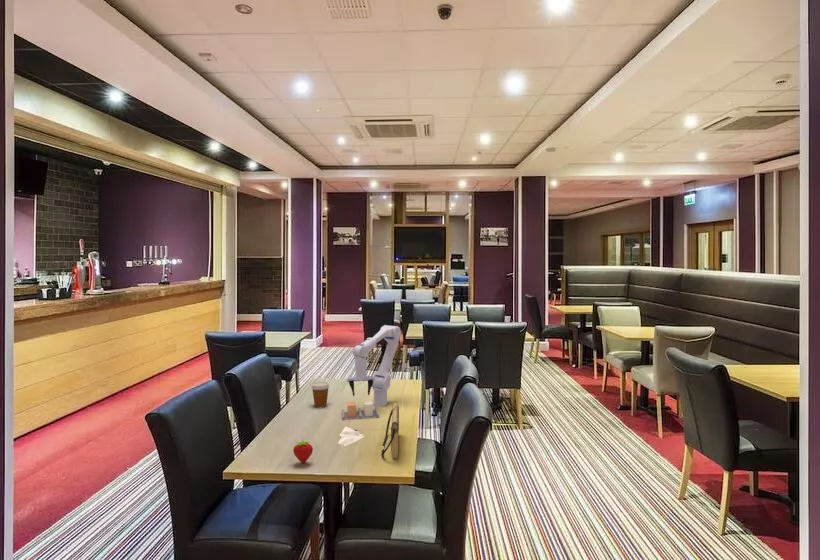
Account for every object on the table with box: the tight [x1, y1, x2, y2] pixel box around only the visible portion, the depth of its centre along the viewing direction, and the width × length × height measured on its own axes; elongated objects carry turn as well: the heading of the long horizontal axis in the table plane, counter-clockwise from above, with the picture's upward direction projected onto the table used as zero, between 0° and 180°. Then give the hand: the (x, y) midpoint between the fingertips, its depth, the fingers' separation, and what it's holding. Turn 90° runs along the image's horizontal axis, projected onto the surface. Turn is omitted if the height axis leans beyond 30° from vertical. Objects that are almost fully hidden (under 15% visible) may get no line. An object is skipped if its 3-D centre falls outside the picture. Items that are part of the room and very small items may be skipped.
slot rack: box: [341, 406, 380, 421], centre depth 232 cm, size 12×18×2 cm, turn 100°
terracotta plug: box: [346, 401, 357, 418], centre depth 231 cm, size 6×4×6 cm, turn 9°
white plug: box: [363, 400, 374, 417], centre depth 233 cm, size 6×4×6 cm, turn 10°
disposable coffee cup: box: [311, 381, 330, 409], centre depth 250 cm, size 10×10×12 cm
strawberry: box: [293, 438, 314, 464], centre depth 179 cm, size 6×8×10 cm
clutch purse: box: [381, 401, 400, 460], centre depth 194 cm, size 30×7×15 cm, turn 1°
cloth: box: [337, 426, 365, 448], centre depth 207 cm, size 26×14×2 cm, turn 170°
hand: (361, 395), depth 238 cm, fingers open, 7 cm apart
